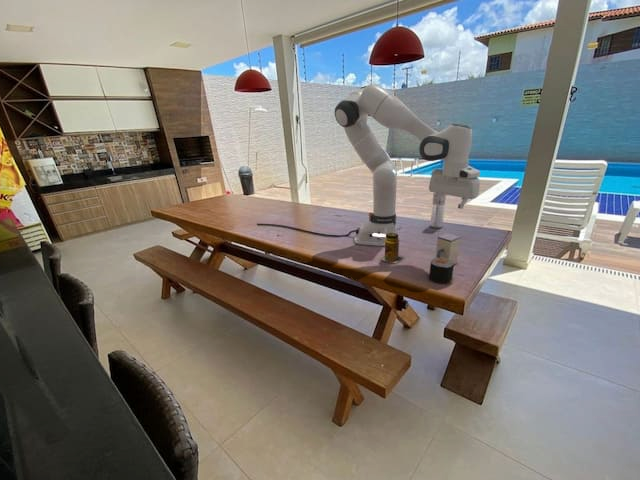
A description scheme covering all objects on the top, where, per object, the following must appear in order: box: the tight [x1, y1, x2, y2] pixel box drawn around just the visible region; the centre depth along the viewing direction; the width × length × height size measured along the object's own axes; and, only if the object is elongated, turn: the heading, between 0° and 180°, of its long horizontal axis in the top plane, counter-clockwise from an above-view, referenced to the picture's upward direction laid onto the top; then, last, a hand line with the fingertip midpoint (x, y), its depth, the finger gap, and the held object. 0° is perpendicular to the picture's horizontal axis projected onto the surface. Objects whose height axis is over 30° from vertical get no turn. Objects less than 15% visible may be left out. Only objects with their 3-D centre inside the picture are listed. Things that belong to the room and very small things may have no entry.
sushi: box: [428, 257, 455, 285], centre depth 119 cm, size 8×8×8 cm
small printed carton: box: [435, 232, 461, 265], centre depth 130 cm, size 12×6×10 cm
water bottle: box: [429, 192, 447, 229], centre depth 171 cm, size 7×7×25 cm
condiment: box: [380, 232, 404, 264], centre depth 137 cm, size 7×8×12 cm
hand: (450, 206), depth 123 cm, fingers open, 8 cm apart
